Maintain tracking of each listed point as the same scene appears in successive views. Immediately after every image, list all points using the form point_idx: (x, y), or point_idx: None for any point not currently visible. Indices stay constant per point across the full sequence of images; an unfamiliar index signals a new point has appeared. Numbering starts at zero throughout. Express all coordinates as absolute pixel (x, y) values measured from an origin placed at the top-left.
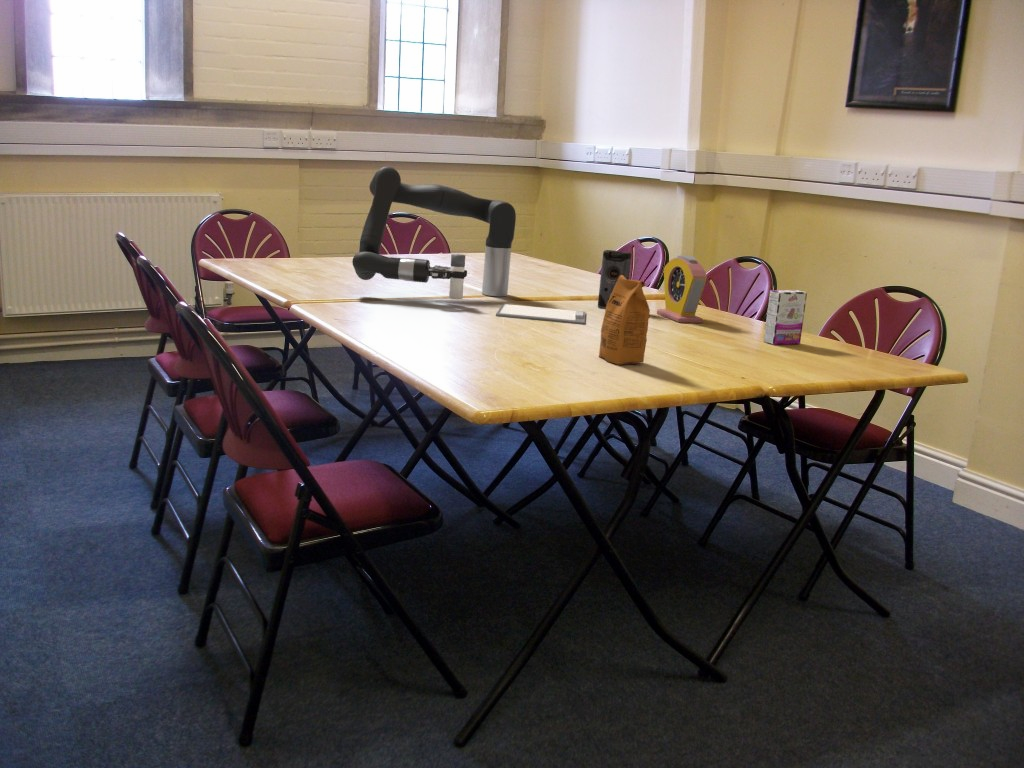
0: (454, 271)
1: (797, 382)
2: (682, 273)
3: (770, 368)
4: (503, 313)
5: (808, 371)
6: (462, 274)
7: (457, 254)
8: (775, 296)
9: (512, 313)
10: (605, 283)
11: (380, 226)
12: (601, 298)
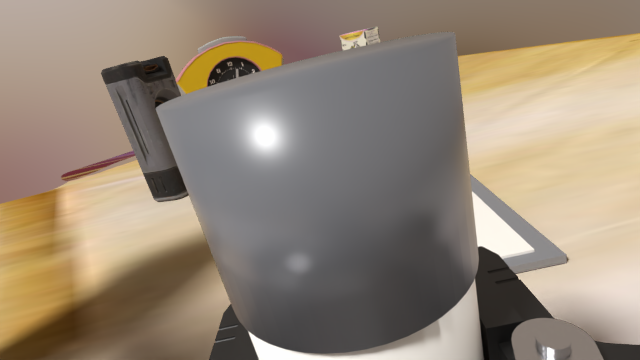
0: (516, 310)
1: (587, 41)
2: (238, 66)
3: (539, 56)
4: (524, 241)
5: (514, 55)
6: (484, 257)
7: (230, 88)
8: (374, 34)
9: (486, 227)
10: None
11: None
12: (179, 174)
